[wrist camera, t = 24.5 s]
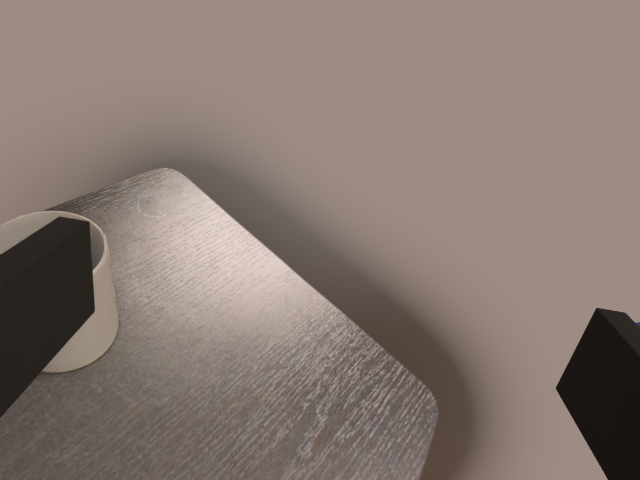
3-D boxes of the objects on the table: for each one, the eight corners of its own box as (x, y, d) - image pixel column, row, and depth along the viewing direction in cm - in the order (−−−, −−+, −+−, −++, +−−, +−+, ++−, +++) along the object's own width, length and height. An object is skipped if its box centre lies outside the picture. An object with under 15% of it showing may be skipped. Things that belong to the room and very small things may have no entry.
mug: (122, 291, 45) (114, 211, 37) (114, 370, 39) (103, 295, 32) (-22, 293, 41) (-63, 204, 34) (-52, 381, 36) (-111, 299, 28)
